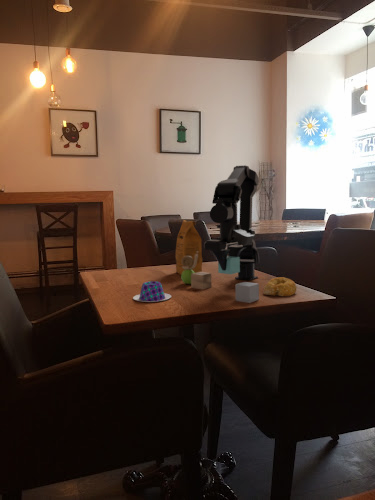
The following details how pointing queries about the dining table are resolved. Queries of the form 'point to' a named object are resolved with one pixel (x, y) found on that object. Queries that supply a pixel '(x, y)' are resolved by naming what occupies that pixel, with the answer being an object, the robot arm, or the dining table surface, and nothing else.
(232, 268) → the teal block
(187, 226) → the coffee package
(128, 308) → the dining table surface
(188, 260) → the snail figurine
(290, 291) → the bagel
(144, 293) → the pudding
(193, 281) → the walnut block
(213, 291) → the dining table surface
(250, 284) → the grey cube
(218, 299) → the dining table surface
